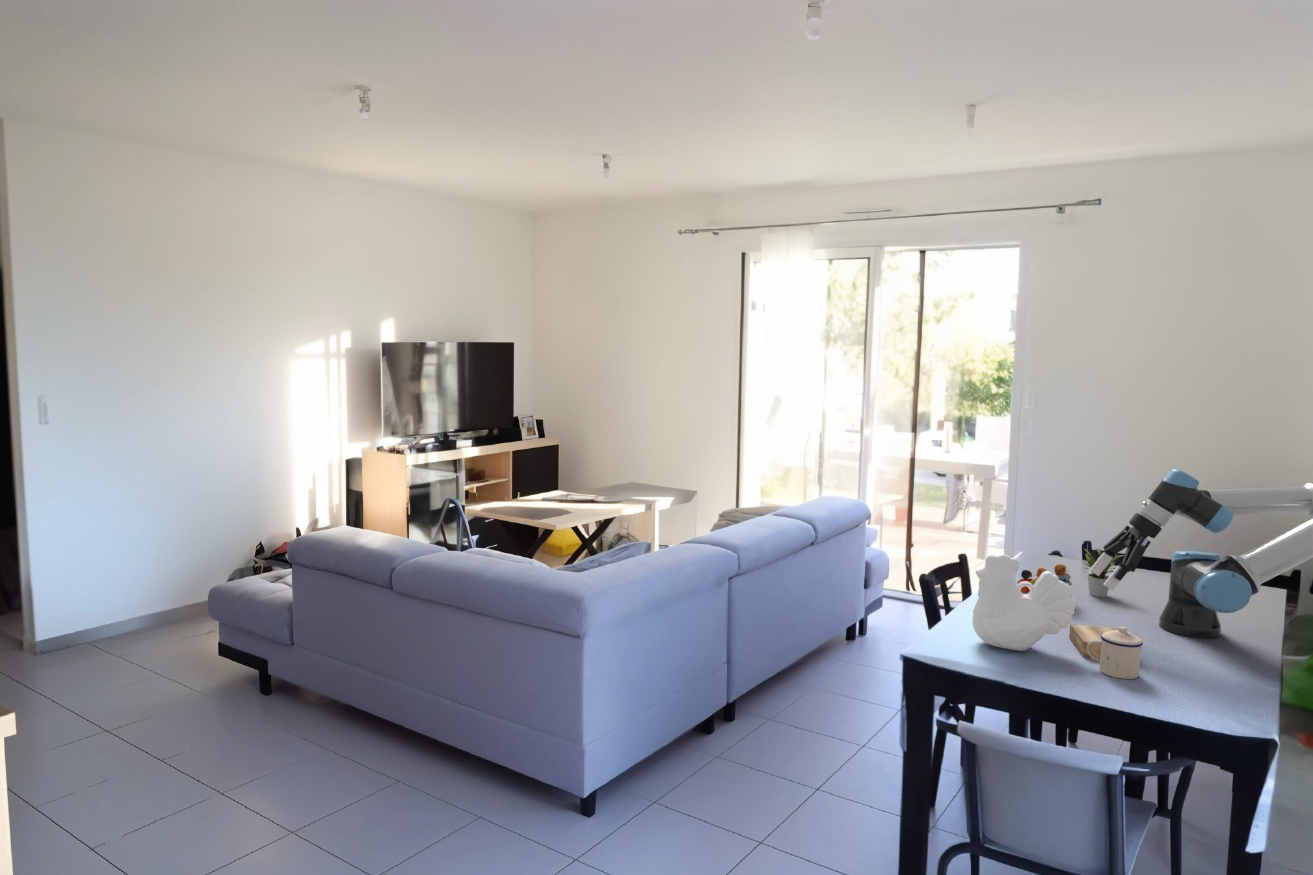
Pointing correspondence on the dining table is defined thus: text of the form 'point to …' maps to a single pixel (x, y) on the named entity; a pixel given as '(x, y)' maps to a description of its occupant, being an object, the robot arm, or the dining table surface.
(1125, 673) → the teacup with lid
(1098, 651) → the oak slab
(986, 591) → the decorative rooster
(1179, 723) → the dining table surface
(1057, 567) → the doll family
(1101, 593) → the house plant
